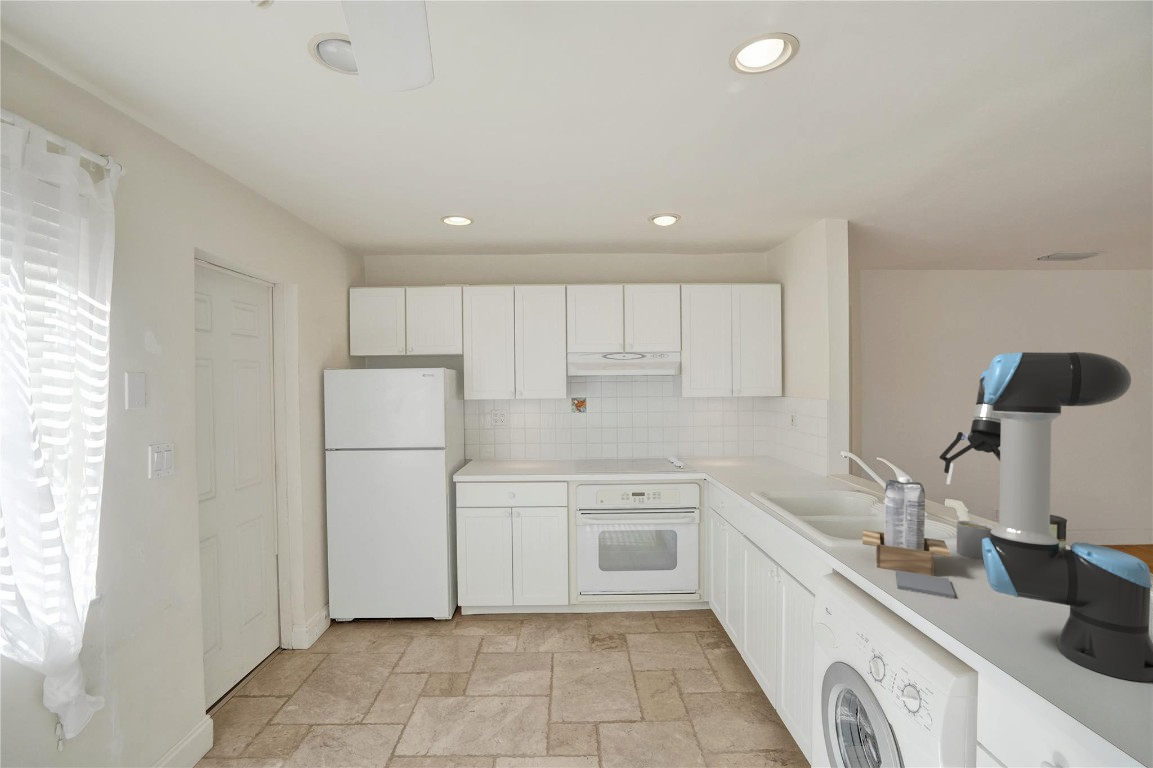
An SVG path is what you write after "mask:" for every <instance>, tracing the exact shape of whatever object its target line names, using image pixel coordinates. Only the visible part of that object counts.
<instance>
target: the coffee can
mask: <svg viewBox="0 0 1153 768" xmlns="http://www.w3.org/2000/svg"><path fill="white" fill-rule="evenodd" d="M1067 522H1068V519H1067V518H1065V517H1062V516H1059V515H1055V514H1050V533H1051V534H1052V535H1053V536H1054V537H1056V538H1057V539H1058V540H1059V548H1061V549H1067Z"/></svg>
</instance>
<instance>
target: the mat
mask: <svg viewBox="0 0 1153 768" xmlns="http://www.w3.org/2000/svg"><path fill="white" fill-rule="evenodd" d="M895 579H896V580H897V581H896V587H897V589H898V588H899V589H898V590H902V589H905V590H904V591H908V590H911V591H910V592H914V591H916V592H915V593H919V592H921V594H925V593H927V594H926V595H931V594H932V595H931V596H936V595H938V596H937V597H942V596H945V597H944V598H948V597H951V598H950V599H954V598H956V597H955V596H956V595H955V592H954V590H953V587H952V584H951V582H950V580H949V578H947V577H942V576H941V577H940V576H936V575H934V576H930V575H924V574H918V573H912V572H905V571H899V570H895Z"/></svg>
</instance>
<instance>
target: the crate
mask: <svg viewBox="0 0 1153 768" xmlns="http://www.w3.org/2000/svg"><path fill="white" fill-rule="evenodd" d="M862 531H863V532H862V545H864V546H870V547H871V546H873V547H876V555H875V556H876V568H878V567H879V569H884V570H893V571H896V570H899V571H905V572H912V573H918V574H924V575H930V576H935V556H941V557H947V558H948V557H949V558H952V555H951V553H950V550H949V548H948V546H947V544H946V542H945V540H942V539H935V538H926V537H924V551H922V550H915V549H908V548H901V547H894V546H887V545H884V533H885V532H884V531H883V532H882V531H874V530H868V529H867V530H866V529H863V530H862Z"/></svg>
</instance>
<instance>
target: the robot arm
mask: <svg viewBox="0 0 1153 768" xmlns="http://www.w3.org/2000/svg"><path fill="white" fill-rule="evenodd" d="M1131 384H1132V377H1131V374H1130V371H1129V369H1128V368H1127V367H1126V366H1125V365H1124V364H1123V363H1121V362H1120V361H1118V360H1117V359H1115V358H1112V357H1109V356H1107V355H1105V354H1098V353H1093V352H1086V351H1085V352H1083V351H1082V352H1081V351H1074V352H1031V351H1030V352H1020V351H1018V352H1011V353H1010V352H1009V353H1000V354H997V355H995V356H994V357H993V359H991V362H990V365H989V367H988V369H985V370H983V371H982V373H981V375H980V379H979V386H978V391H977V396H976V397H977V398H976V403H975V407H974V411H973V416H972V418H974V419H973V420H972V422H971V428H970V433H969V434H966V433H963V432H962V431H958V432H957V434H956V436H955V439H954V440H953V441H952V442H951V444H949V446H947V448H946V449H945V450H944V451H943V452H942V453H941V454H940V456H939V459H940V460H942V461H943V462H944V463H945V464H944V469H943V472H944V473H945V474H947V478H946V483H945V484H946V485H947V486H950V484H951V481H952V475H953V470H954V464H955V463H954V462H953V461H954V460H956V459H957V458H959V457H961V456H963V455H964V454H966V453H967V452H969V451H970V450H972V449H973V450H974V451H976V452H984V453H987V454H990V453H993V455H994V456H995V457H996V458H997V460H999V505H998V507H999V511H998V513H999V514H998V515H999V516H998V523H999V524H998V525H997V526H994V527H995V528H993V529H992V530H991V537H990V539H989V538H984V539H982V552H983V559H984V560H983V563H984V569H985V570H984V571H985V574H986V578H987V582H988V584H989V586H990V588H991V589H992V591H995V592H997V593H1000V594H1004V595H1009V596H1014V597H1015V598H1025V599H1030V600H1036V601H1042V602H1047V603H1053V604H1058V605H1059V604H1060V605H1064V606H1069V615H1068V618H1067V620H1066V622H1065V623H1064V625H1063V627H1062V629H1061V631H1060V633H1059V635H1058V636H1057V637H1058V638H1057V649H1058V651H1059V652H1060V654H1062V655H1063V656H1064V657H1065V658H1066V659H1069V660H1070V661H1071V662H1073V663H1075V664H1077V665H1080V666H1081V667H1083V668H1086V669H1089V670H1092V671H1094V672H1097V673H1100V674H1103V675H1106V676H1110V677H1114V678H1117V679H1123V680H1128V681H1135V682H1153V641H1152V639H1151V637H1150V608H1151V607H1150V606H1151V588H1153V587H1152V581H1151V570H1150V568H1149V566H1148V564H1147V563H1146V562H1145V561H1143V560H1142V559H1140V558H1138V557H1136V556H1134V555H1131V554H1129V553H1126V552H1124V551H1120V550H1117V549H1115V548H1110V547H1106V546H1102V545H1098V544H1095V543H1094V544H1093V543H1088V542H1078V541H1077V542H1076V541H1075V542H1073V543H1072V544H1071V545H1070V546H1069V549H1067V548H1066V549H1061V548H1059V540H1058V539H1057V538H1056V537H1054V536H1053V535H1052V534H1051V533H1050V515H1051V472H1052V471H1051V469H1052V467H1051V463H1052V461H1051V459H1052V423H1053V421H1054V420H1056V419H1057V418H1058V417H1060V416H1061V415H1062V407H1089V406H1090V407H1091V406H1096V405H1102V404H1107V403H1109V402H1114V401H1116V400H1118V399H1119V398H1121V397H1122V396H1124V395H1125V394H1126V393H1127V392H1128V390H1129V389H1130V387H1131ZM965 439H967V441H968V442H969V443H970V444H968V445H967V446H965V447H964V448H961V449H960V450H959V451H957V452H956V453H955V454H952V455H951V456H950V457H947V455H949V454H950V452H951V451H953V449H954V448H955V447H956V446H957V445H958V444H959V443H960V441H964V440H965ZM952 462H953V463H952Z"/></svg>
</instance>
